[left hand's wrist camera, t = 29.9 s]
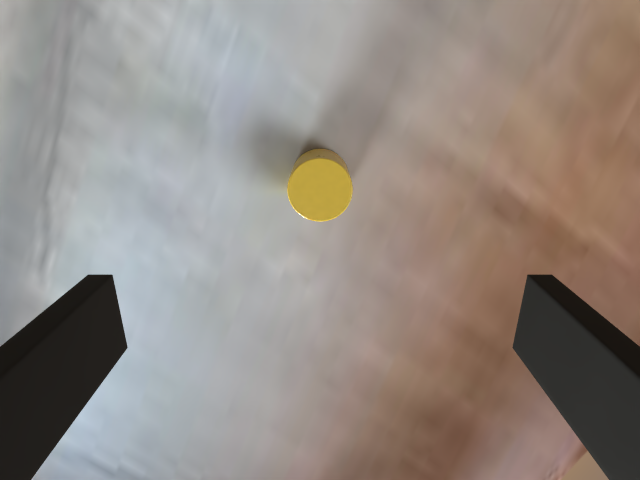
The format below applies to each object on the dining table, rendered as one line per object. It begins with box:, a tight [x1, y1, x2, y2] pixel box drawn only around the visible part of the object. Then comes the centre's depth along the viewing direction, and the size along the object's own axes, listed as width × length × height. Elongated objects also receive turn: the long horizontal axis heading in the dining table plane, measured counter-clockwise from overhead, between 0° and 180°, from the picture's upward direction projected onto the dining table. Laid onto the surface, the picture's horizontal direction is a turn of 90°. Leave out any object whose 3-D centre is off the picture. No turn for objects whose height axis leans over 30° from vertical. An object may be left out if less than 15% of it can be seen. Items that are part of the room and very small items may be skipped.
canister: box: [287, 149, 353, 221], centre depth 31 cm, size 5×5×4 cm
